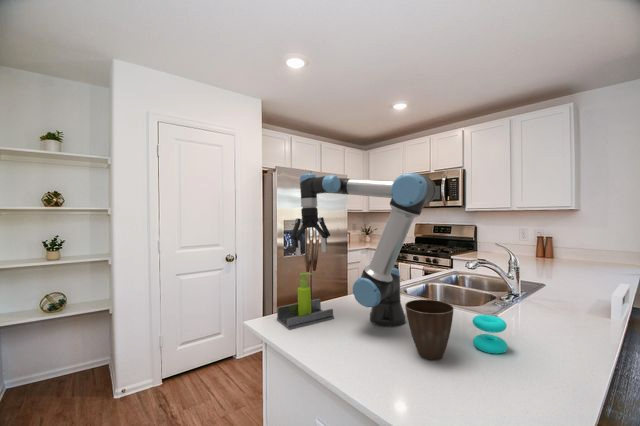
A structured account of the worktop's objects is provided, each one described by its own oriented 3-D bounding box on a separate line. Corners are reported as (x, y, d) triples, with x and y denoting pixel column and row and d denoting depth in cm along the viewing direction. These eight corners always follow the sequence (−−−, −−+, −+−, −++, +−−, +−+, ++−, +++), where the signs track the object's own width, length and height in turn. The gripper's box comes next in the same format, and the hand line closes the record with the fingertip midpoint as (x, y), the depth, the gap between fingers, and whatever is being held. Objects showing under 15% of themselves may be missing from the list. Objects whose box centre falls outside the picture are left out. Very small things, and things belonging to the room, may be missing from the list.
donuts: (473, 322, 97) (471, 312, 106) (474, 352, 97) (472, 340, 106) (508, 325, 93) (503, 315, 102) (510, 357, 93) (504, 344, 102)
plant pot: (401, 344, 104) (400, 299, 104) (444, 344, 104) (442, 298, 104) (414, 366, 89) (412, 314, 89) (463, 366, 89) (461, 313, 89)
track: (334, 318, 132) (333, 305, 132) (289, 329, 121) (288, 315, 121) (318, 310, 145) (318, 298, 145) (276, 319, 134) (276, 306, 134)
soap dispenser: (312, 319, 130) (310, 274, 130) (297, 319, 131) (295, 274, 131) (315, 314, 135) (313, 271, 135) (300, 314, 137) (298, 271, 137)
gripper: (327, 207, 146) (329, 250, 146) (281, 208, 133) (283, 255, 133) (336, 206, 140) (338, 251, 139) (288, 207, 126) (290, 257, 126)
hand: (311, 253), depth 136 cm, fingers open, 13 cm apart
